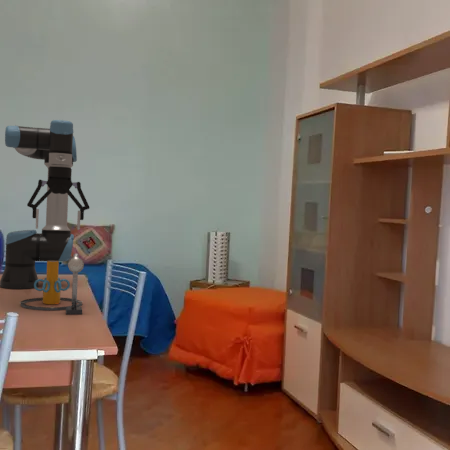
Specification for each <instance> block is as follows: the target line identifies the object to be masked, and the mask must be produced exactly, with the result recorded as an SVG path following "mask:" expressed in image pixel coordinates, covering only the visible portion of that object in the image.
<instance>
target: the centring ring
mask: <svg viewBox="0 0 450 450" xmlns="http://www.w3.org/2000/svg"><path fill="white" fill-rule="evenodd" d="M37 301H38V302H39V301H40V302H41V301H43V296H41V297H34V298H27V299H26V298H25V299H24V300H20V301H18V302H19V305H20V307H22V308H23V309H28V310H33V311H35V310H36V311H66V307H72V305H68V306H58V307H57V306H55V307H54V306H50V307H49V306H47V307H46V306H45V307H44V306H34V305H29V304H27V303H31V302H37ZM60 301H65V302H66V301H67V302H72V297H61V296H60ZM83 303H84V301H83V300H79V299H77V307H82V305H83Z"/></svg>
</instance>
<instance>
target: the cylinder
mask: <svg viewBox="0 0 450 450" xmlns="http://www.w3.org/2000/svg"><path fill="white" fill-rule="evenodd" d="M59 267H60V263H59V261H46V276H45V277H44V279H43V278H38V280H36V281H35V283H34V288H33V289H35V290H36V291H37V292H42V297H43V300H42V304H44V305H51V306H52V305H58V304H61V300H60V297H61V291H62V292H64V291H67V290H68V289H70V286H71V283H70V280H68V279H66V278H60V277H59ZM37 282H39V283H40V282H42V288H39V287H36V284H37ZM63 282H66V283H67V286H66V287H65V288H62V283H63Z"/></svg>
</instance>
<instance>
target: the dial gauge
mask: <svg viewBox="0 0 450 450" xmlns="http://www.w3.org/2000/svg"><path fill="white" fill-rule="evenodd" d="M72 256H73V257H71V258H70V259H69V260H68V261H67V267H68V269H69V271H70V272H71V273H72V281H71V282H72V283H71V285H72V287H71V290H72V291H71V298H72V301H71V306H72V307H66V306H65V307H66V310H65V315H67V316H68V315H83V307H82V306H80V307H77V304H78V303H77V300H78V282H79V281H78V280H79V278H78V277H79V273H80V272H82V271H83V270H84V268H85V263H84V260H83V259H82V258H80V255H79V253H73V255H72Z"/></svg>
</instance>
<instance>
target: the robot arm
mask: <svg viewBox="0 0 450 450" xmlns="http://www.w3.org/2000/svg"><path fill="white" fill-rule="evenodd" d="M49 124H50V127H49V128H46V127H44V128H43V127H31V126H30V127H29V126H19V125H7V126H5V132H4V145H5V146H6V147H7V148H12V149H14V150H15V151H16V152H17V153H18V154H20V155H22V156H24V157H27V158H30V159H33V160H34V159H35V160H41V161H42V160H44V165H45V167H47V180H42V179H39V180H38V183H37V187H36V188H35V190H34V192H33V193H32V195H31V196H30V198H29V200H28V202H27V207H29V208H31V209H32V216H31V217H32V219H35V229H27V230H17V231H16V230H15V231H10V232H9V233H7V234H6V238H5V259H4V261H5V265H4V266H5V267H4V269H3V272H2V275H1V278H0V288H3V289H12V290H15V289H16V290H17V289H18V290H23V289H26V290H27V289H35V288H34V283H35V281H36V280H38V279H39V276H38V274H37V270H36V262H47V261H59V262H60V263H61V262H69V260H70V259H71V258H72V253H73V252H72V251H73V247H74V239H75V235H74V234H73V233H72V232H71V229H70V228H69V227H68V212H69V211H68V209H69V208H68V207H69V197H70V199H71V200H72V201H73V203H74V204H75V205H76V206H77V207H78V209H79V210H77V223H76V224H77V225H76V230H77V231H79V230H81V221H84V218H85V217H84V215H85V211H86V210H89V209H90V206H89V203H88V200H87V199H86V196H85V194H84V192H83V190H82V188H81V187H82V183H81V182H80V181H77V182H75V181H74V182H73V181H72V170H73V169H72V168H73V166H74V163H75V162H77V160H78V158H77V144H76V140H75V139H76V138H75V136H74V123H73V122H72V121H70V120H63V119H53V120H51V121H50V123H49ZM45 185H46V186H47V188H46V192H45V193H44V194H43V195H42V196H41V197H40V198H39V199H38V200H37V201H36V202H35V203H34V201H35V199H36V197H37V196H38V195H39V193H40V191H41V188H42V187H44V186H45ZM72 187H74V188H75V189H76V190H77V192H78V194H79V197H80V200H82V203H83V205H84V206H83V205H82V204H81V203H80V202H79V200H78V199H77V198H76V196H75V195H74V194H73V193H72V191H71V190H70V189H71V188H72ZM45 200H46V211H45V213H46V215H45V225H44V227H42V228H41V233H37V230H38V229H39V211H40V209H39V208H38V207H39V206H40V205H41V204H42V203H43V202H44V201H45ZM33 203H34V204H33ZM36 229H37V230H36ZM39 283H40V281H39V282H37V284H36V287H37V288H39V286H40V284H39Z"/></svg>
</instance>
